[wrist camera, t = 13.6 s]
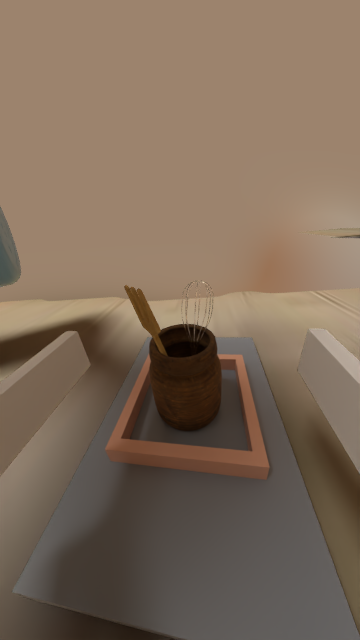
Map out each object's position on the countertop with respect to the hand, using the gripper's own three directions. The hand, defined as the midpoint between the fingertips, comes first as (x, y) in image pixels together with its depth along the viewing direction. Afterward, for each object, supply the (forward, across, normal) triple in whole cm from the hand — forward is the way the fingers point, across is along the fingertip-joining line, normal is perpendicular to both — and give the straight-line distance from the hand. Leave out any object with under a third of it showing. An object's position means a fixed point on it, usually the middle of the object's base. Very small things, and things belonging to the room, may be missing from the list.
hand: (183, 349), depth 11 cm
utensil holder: (+3, -1, -8) cm, 9 cm away
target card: (+3, 0, -10) cm, 10 cm away
